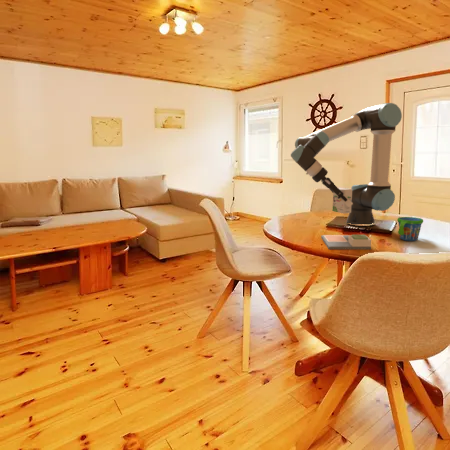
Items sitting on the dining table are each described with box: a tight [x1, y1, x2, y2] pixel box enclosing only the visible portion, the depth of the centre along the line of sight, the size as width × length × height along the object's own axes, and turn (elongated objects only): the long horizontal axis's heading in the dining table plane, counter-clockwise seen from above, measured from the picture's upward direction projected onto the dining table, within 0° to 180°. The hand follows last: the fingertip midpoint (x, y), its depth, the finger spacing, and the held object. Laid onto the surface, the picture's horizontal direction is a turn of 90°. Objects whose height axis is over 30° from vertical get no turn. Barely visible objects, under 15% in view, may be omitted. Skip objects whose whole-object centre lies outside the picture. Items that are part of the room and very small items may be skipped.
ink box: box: [331, 187, 352, 214], centre depth 177 cm, size 8×5×12 cm, turn 23°
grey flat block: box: [320, 234, 372, 250], centre depth 166 cm, size 18×21×4 cm
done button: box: [351, 234, 369, 239], centre depth 159 cm, size 6×6×2 cm
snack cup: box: [396, 216, 424, 242], centre depth 169 cm, size 16×10×10 cm
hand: (348, 203), depth 177 cm, fingers closed on ink box, 9 cm apart
